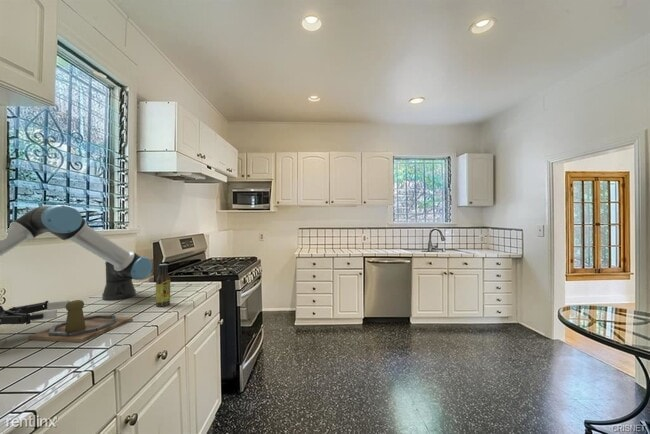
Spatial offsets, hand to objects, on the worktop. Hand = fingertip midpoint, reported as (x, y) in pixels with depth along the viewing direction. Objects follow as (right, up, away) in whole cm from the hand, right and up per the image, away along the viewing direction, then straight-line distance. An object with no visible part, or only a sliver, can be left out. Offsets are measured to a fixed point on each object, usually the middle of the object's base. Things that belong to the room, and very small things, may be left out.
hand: (63, 308), depth 111 cm
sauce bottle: (+20, -9, +33) cm, 39 cm away
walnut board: (+6, -9, +3) cm, 11 cm away
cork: (+6, -8, -2) cm, 10 cm away
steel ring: (+6, -8, +3) cm, 10 cm away
